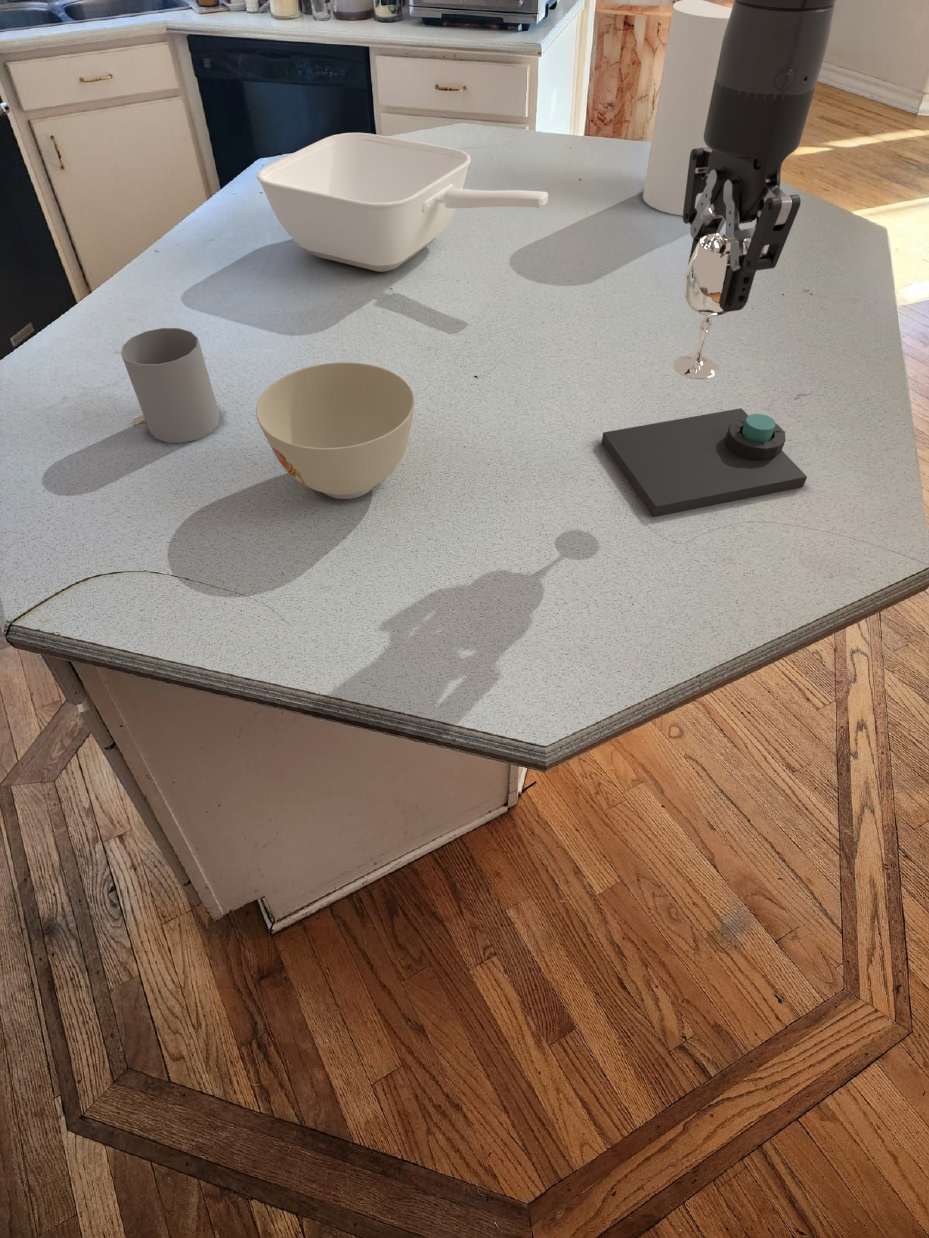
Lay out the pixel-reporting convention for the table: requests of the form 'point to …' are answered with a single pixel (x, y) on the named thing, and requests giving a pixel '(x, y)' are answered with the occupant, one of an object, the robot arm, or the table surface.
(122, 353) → the cup
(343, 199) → the pan
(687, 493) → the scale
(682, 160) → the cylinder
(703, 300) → the wineglass
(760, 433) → the power button
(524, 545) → the table surface
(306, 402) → the bowl
